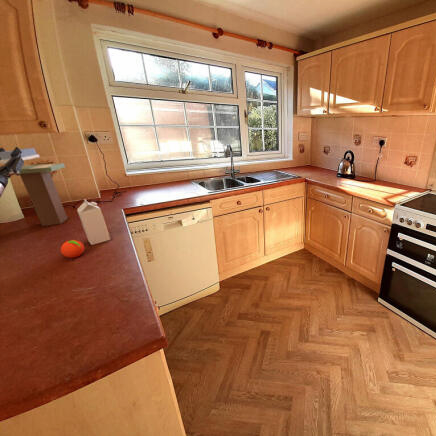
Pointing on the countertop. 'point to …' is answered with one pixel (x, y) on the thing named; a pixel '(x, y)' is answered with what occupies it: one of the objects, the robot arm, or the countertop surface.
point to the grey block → (25, 155)
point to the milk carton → (93, 223)
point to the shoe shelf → (44, 192)
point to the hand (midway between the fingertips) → (11, 150)
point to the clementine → (72, 248)
